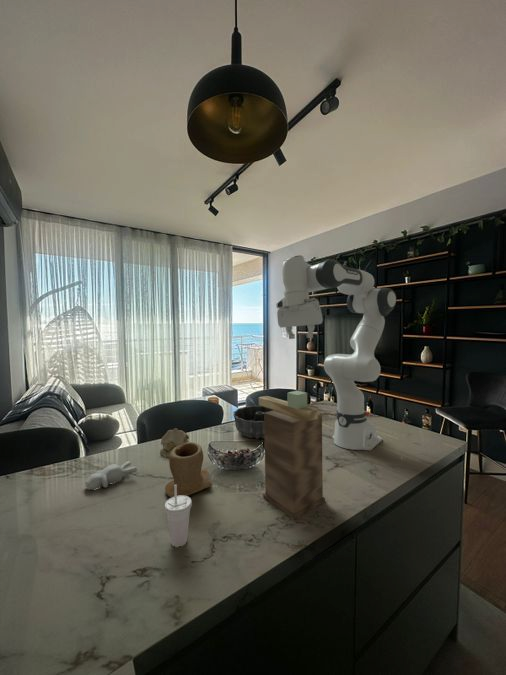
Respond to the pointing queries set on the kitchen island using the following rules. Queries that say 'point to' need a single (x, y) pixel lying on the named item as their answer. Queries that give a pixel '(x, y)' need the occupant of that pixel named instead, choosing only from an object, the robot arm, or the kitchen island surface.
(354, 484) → the kitchen island surface
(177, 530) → the smoothie
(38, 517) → the kitchen island surface
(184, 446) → the stone cup
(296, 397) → the sage cube
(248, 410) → the bundt pan
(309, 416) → the oak slat
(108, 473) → the bunny figurine
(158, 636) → the kitchen island surface
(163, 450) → the ceramic model
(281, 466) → the walnut block
